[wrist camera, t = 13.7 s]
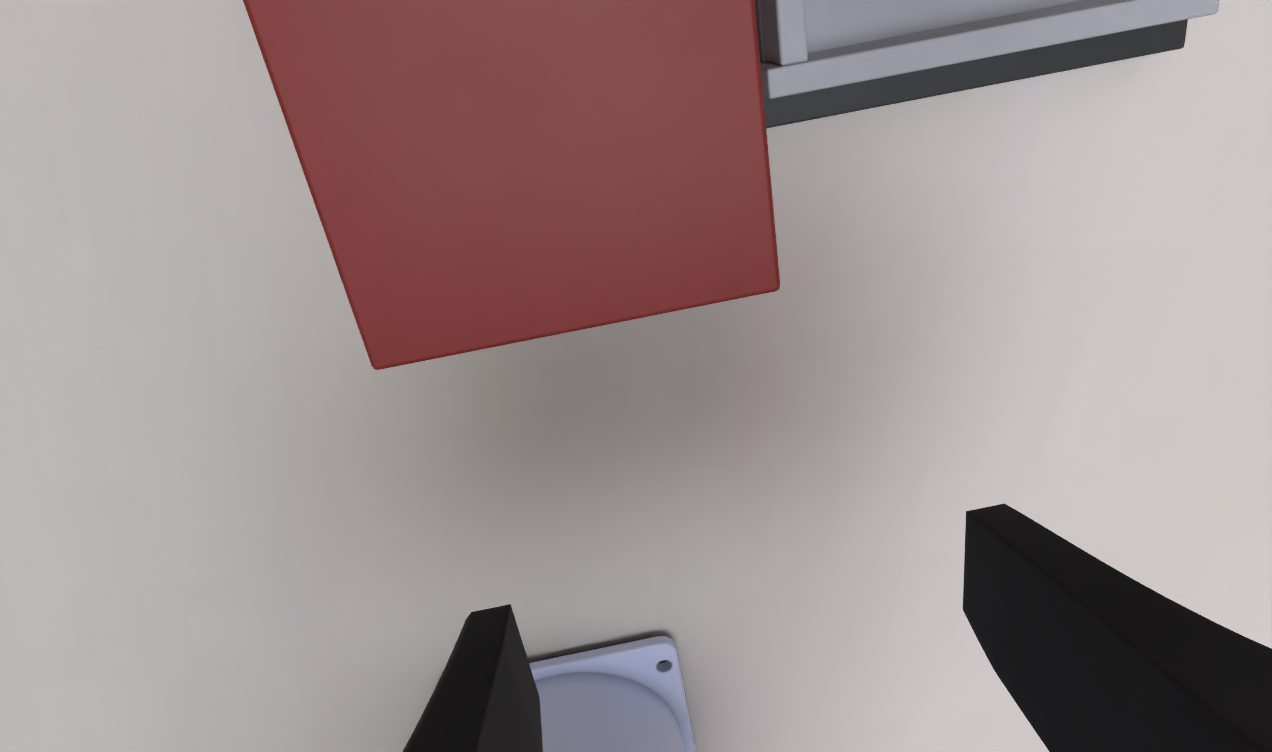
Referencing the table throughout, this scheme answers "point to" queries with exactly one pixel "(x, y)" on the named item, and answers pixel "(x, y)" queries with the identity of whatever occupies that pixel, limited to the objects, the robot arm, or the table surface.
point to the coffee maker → (609, 138)
